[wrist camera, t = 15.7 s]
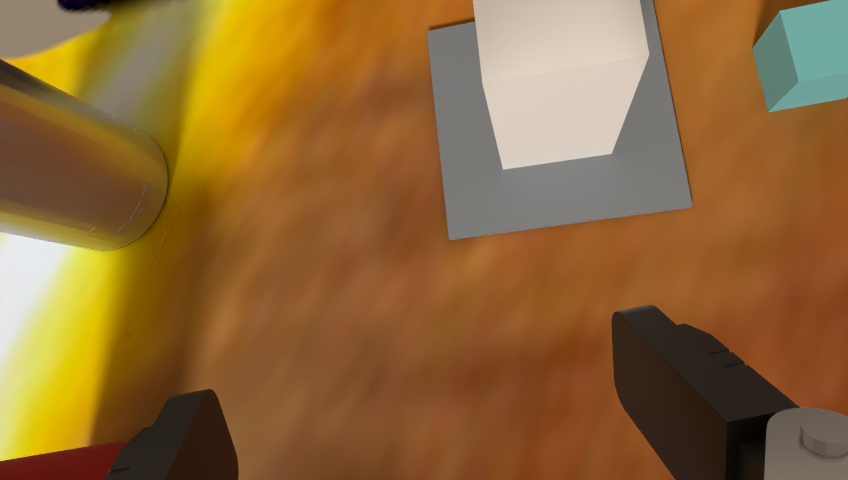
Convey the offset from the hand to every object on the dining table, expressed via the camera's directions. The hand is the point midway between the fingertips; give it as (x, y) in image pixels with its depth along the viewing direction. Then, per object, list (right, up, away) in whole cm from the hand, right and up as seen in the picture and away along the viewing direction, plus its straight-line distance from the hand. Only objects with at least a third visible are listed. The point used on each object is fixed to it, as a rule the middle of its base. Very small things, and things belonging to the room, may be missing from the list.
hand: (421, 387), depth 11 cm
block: (+22, +12, +21) cm, 32 cm away
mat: (+8, +11, +23) cm, 27 cm away
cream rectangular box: (+8, +11, +23) cm, 26 cm away
